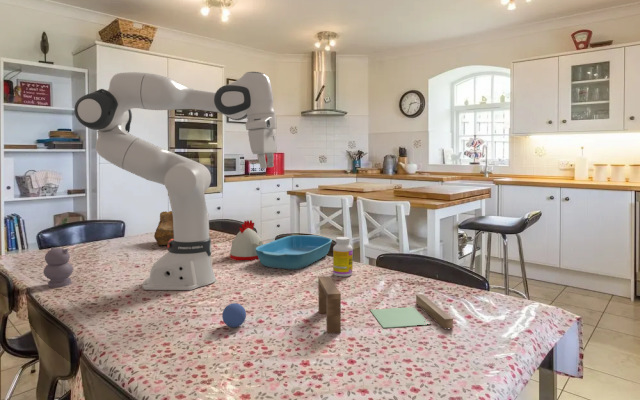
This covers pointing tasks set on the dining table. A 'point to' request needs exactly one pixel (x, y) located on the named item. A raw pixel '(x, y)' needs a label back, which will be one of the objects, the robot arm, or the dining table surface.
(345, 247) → the supplement bottle
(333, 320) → the bridge
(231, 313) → the ball
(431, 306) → the stopper wall
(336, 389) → the dining table surface
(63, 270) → the cat figurine
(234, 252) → the kitchen timer
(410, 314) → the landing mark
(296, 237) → the casserole dish
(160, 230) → the rough brown rock
